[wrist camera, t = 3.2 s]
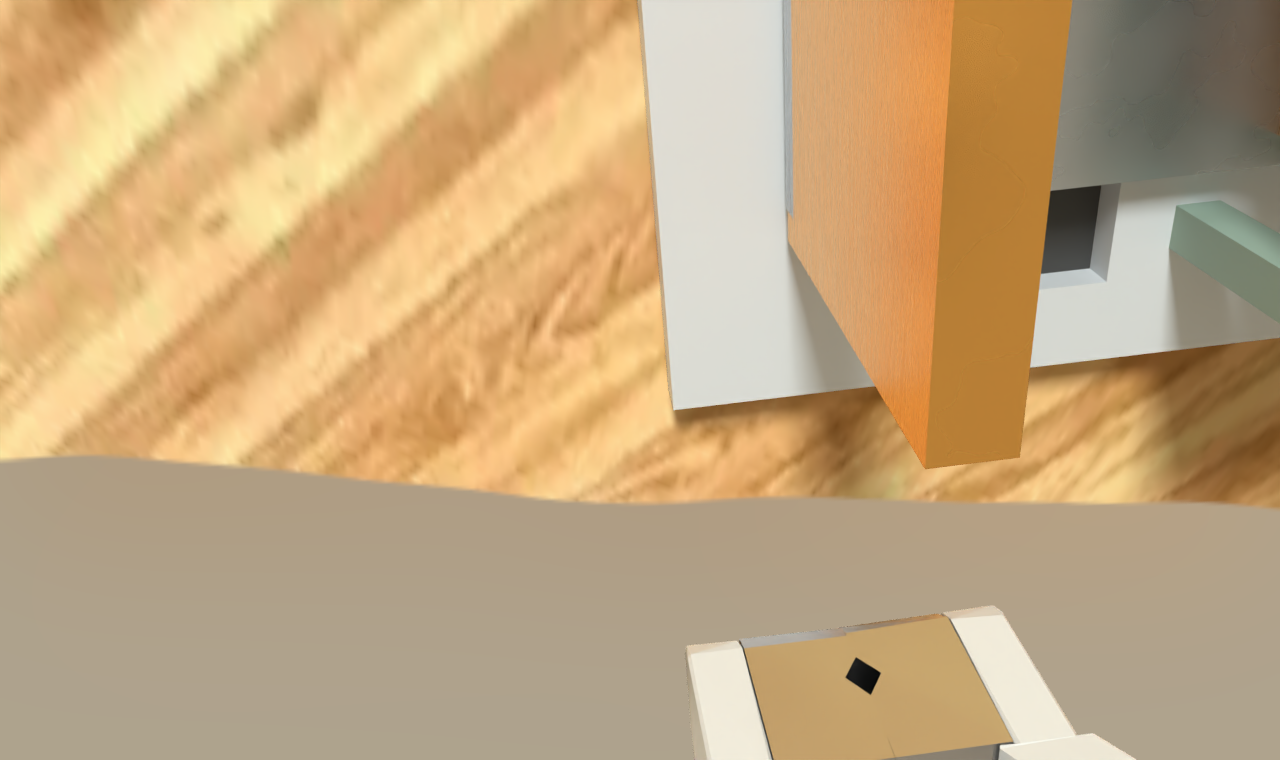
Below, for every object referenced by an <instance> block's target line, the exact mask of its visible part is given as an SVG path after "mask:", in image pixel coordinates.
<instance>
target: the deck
mask: <svg viewBox="0 0 1280 760" xmlns="http://www.w3.org/2000/svg"><path fill="white" fill-rule="evenodd" d="M637 2H638V15H639V27H640V40H641V52H642V65H643V77H644V90H645V102H646V115H647V127H648V140H649V152H650V165H651V177H652V190H653V202H654V215H655V227H656V240H657V252H658V265H659V277H660V290H661V302H662V315H663V327H664V340H665V352H666V364H667V377H668V389H669V393H670V398H671V402H672V406H673V410H680V409H688V408H696V407H705V406H713V405H722V404H730V403H738V402H747V401H755V400H763V399H772V398H780V397H788V396H797V395H805V394H814V393H822V392H830V391H839V390H847V389H855V388H864V387H872V386H875V385H874V383H873V381H872V380H871V378H870V376H869V375H868V373H867V371H866V370H865V368H864V366H863V365H862V363H861V361H860V360H859V358H858V356H857V355H856V353H855V351H854V350H853V348H852V346H851V345H850V343H849V341H848V340H847V338H846V336H845V335H844V333H843V331H842V330H841V328H840V326H839V325H838V323H837V321H836V320H835V318H834V316H833V315H832V313H831V311H830V310H829V308H828V306H827V305H826V303H825V301H824V300H823V298H822V296H821V295H820V293H819V291H818V290H817V288H816V286H815V285H814V283H813V281H812V280H811V278H810V276H809V275H808V273H807V271H806V270H805V268H804V266H803V265H802V263H801V261H800V260H799V258H798V256H797V255H796V253H795V251H794V250H793V248H792V246H791V245H790V243H789V241H788V210H787V209H786V150H785V81H784V12H783V0H637ZM1218 200H1221V201H1223V202H1225V203H1226V204H1228V205H1230V206H1232V207H1234V208H1235V209H1237V210H1239V211H1241V212H1242V213H1244V214H1246V215H1248V216H1249V217H1251V218H1253V219H1255V220H1257V221H1258V222H1260V223H1262V224H1264V225H1265V226H1267V227H1269V228H1271V229H1273V230H1274V231H1276V232H1278V233H1280V165H1276V166H1267V167H1258V168H1249V169H1240V170H1231V171H1222V172H1213V173H1204V174H1195V175H1187V176H1178V177H1169V178H1160V179H1151V180H1142V181H1133V182H1124V183H1115V184H1107V185H1098V186H1089V187H1080V188H1071V189H1062V190H1053V191H1050V199H1049V208H1048V216H1047V225H1046V234H1045V242H1044V251H1043V260H1042V268H1041V277H1040V286H1039V294H1038V303H1037V312H1036V321H1035V329H1034V338H1033V347H1032V355H1031V364H1030V368H1031V367H1040V366H1048V365H1056V364H1065V363H1073V362H1081V361H1090V360H1098V359H1107V358H1115V357H1123V356H1132V355H1140V354H1148V353H1157V352H1165V351H1173V350H1182V349H1190V348H1199V347H1207V346H1215V345H1224V344H1232V343H1240V342H1249V341H1257V340H1266V339H1274V338H1280V324H1279V323H1278V322H1276V321H1275V320H1273V319H1272V318H1270V317H1269V316H1267V315H1266V314H1264V313H1263V312H1262V311H1260V310H1259V309H1257V308H1256V307H1254V306H1253V305H1251V304H1250V303H1248V302H1247V301H1245V300H1244V299H1243V298H1241V297H1240V296H1238V295H1237V294H1235V293H1234V292H1232V291H1231V290H1229V289H1228V288H1226V287H1225V286H1224V285H1222V284H1221V283H1219V282H1218V281H1216V280H1215V279H1213V278H1212V277H1210V276H1209V275H1208V274H1206V273H1205V272H1203V271H1202V270H1200V269H1199V268H1197V267H1196V266H1194V265H1193V264H1191V263H1190V262H1189V261H1187V260H1186V259H1184V258H1183V257H1181V256H1180V255H1178V254H1177V253H1175V252H1174V251H1172V250H1171V249H1170V248H1169V244H1170V238H1171V232H1172V227H1173V221H1174V215H1175V210H1176V205H1183V204H1192V203H1201V202H1210V201H1218Z"/></svg>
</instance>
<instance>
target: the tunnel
mask: <svg viewBox="0 0 1280 760" xmlns="http://www.w3.org/2000/svg"><path fill="white" fill-rule="evenodd" d="M1169 248H1170V249H1171V250H1172V251H1174V252H1175V253H1177V254H1178V255H1180V256H1181V257H1183V258H1184V259H1186V260H1187V261H1189V262H1190V263H1191V264H1193V265H1194V266H1196V267H1197V268H1199V269H1200V270H1202V271H1203V272H1205V273H1206V274H1208V275H1209V276H1210V277H1212V278H1213V279H1215V280H1216V281H1218V282H1219V283H1221V284H1222V285H1224V286H1225V287H1226V288H1228V289H1229V290H1231V291H1232V292H1234V293H1235V294H1237V295H1238V296H1240V297H1241V298H1243V299H1244V300H1245V301H1247V302H1248V303H1250V304H1251V305H1253V306H1254V307H1256V308H1257V309H1259V310H1260V311H1262V312H1263V313H1264V314H1266V315H1267V316H1269V317H1270V318H1272V319H1273V320H1275V321H1276V322H1278V323H1279V324H1280V233H1278V232H1276V231H1274V230H1273V229H1271V228H1269V227H1267V226H1265V225H1264V224H1262V223H1260V222H1258V221H1257V220H1255V219H1253V218H1251V217H1249V216H1248V215H1246V214H1244V213H1242V212H1241V211H1239V210H1237V209H1235V208H1234V207H1232V206H1230V205H1228V204H1226V203H1225V202H1223V201H1221V200H1218V201H1210V202H1201V203H1192V204H1183V205H1176V210H1175V215H1174V221H1173V227H1172V232H1171V238H1170V244H1169Z"/></svg>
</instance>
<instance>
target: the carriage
mask: <svg viewBox="0 0 1280 760" xmlns="http://www.w3.org/2000/svg"><path fill="white" fill-rule="evenodd" d="M783 12H784V81H785V150H786V209H787V210H788V241H789V243H790V245H791V246H792V248H793V250H794V251H795V253H796V255H797V256H798V258H799V260H800V261H801V263H802V265H803V266H804V268H805V270H806V271H807V273H808V275H809V276H810V278H811V280H812V281H813V283H814V285H815V286H816V288H817V290H818V291H819V293H820V295H821V296H822V298H823V300H824V301H825V303H826V305H827V306H828V308H829V310H830V311H831V313H832V315H833V316H834V318H835V320H836V321H837V323H838V325H839V326H840V328H841V330H842V331H843V333H844V335H845V336H846V338H847V340H848V341H849V343H850V345H851V346H852V348H853V350H854V351H855V353H856V355H857V356H858V358H859V360H860V361H861V363H862V365H863V366H864V368H865V370H866V371H867V373H868V375H869V376H870V378H871V380H872V381H873V383H874V385H875V386H876V388H877V390H878V391H879V393H880V395H881V396H882V398H883V400H884V401H885V403H886V405H887V406H888V408H889V410H890V411H891V413H892V415H893V416H894V418H895V420H896V421H897V423H898V425H899V427H900V428H901V430H902V432H903V433H904V435H905V437H906V438H907V440H908V442H909V443H910V445H911V447H912V448H913V450H914V452H915V453H916V455H917V457H918V458H919V460H920V462H921V463H922V465H923V467H924V468H925V469H930V468H938V467H946V466H955V465H963V464H971V463H979V462H987V461H995V460H1003V459H1011V458H1020V451H1021V442H1022V433H1023V425H1024V416H1025V407H1026V399H1027V390H1028V381H1029V373H1030V364H1031V355H1032V347H1033V338H1034V329H1035V321H1036V312H1037V303H1038V294H1039V286H1040V277H1041V268H1042V260H1043V251H1044V242H1045V234H1046V225H1047V216H1048V208H1049V199H1050V191H1053V190H1062V189H1071V188H1080V187H1089V186H1098V185H1107V184H1115V183H1124V182H1133V181H1142V180H1151V179H1160V178H1169V177H1178V176H1187V175H1195V174H1204V173H1213V172H1222V171H1231V170H1240V169H1249V168H1258V167H1267V166H1276V165H1280V0H783Z"/></svg>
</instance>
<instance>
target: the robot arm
mask: <svg viewBox="0 0 1280 760" xmlns="http://www.w3.org/2000/svg"><path fill="white" fill-rule="evenodd" d="M685 660H686V672H687V685H688V697H689V709H690V722H691V733H692V742H693V751H694V760H1137V759H1135V758H1133V757H1132V756H1130V755H1129V754H1127V753H1125V752H1124V751H1122V750H1120V749H1119V748H1117V747H1115V746H1114V745H1112V744H1111V743H1109V742H1107V741H1106V740H1104V739H1102V738H1101V737H1099V736H1097V735H1096V734H1094V733H1092V734H1084V735H1077V734H1076V732H1075V730H1074V729H1073V727H1072V725H1071V724H1070V722H1069V720H1068V719H1067V717H1066V715H1065V714H1064V713H1063V711H1062V709H1061V707H1060V706H1059V704H1058V702H1057V701H1056V699H1055V697H1054V696H1053V694H1052V693H1051V691H1050V689H1049V688H1048V686H1047V685H1046V683H1045V681H1044V679H1043V678H1042V676H1041V675H1040V673H1039V671H1038V670H1037V668H1036V666H1035V665H1034V663H1033V661H1032V660H1031V658H1030V657H1029V655H1028V653H1027V652H1026V650H1025V648H1024V647H1023V645H1022V643H1021V642H1020V640H1019V638H1018V637H1017V635H1016V634H1015V632H1014V630H1013V629H1012V627H1011V625H1010V624H1009V622H1008V620H1007V619H1006V617H1005V615H1004V614H1003V612H1002V611H1001V610H999V609H998V608H996V607H995V606H993V605H991V606H984V607H977V608H971V609H964V610H957V611H950V612H943V613H941V615H939V614H931V615H925V616H917V617H910V618H904V619H896V620H890V621H882V622H875V623H869V624H861V625H855V626H847V627H840V628H837V629H827V630H818V631H809V632H800V633H790V634H781V635H772V636H763V637H754V638H744V639H740V640H739V643H738V642H737V641H730V642H719V643H711V644H710V643H709V644H699V645H690V646H686V652H685Z"/></svg>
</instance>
